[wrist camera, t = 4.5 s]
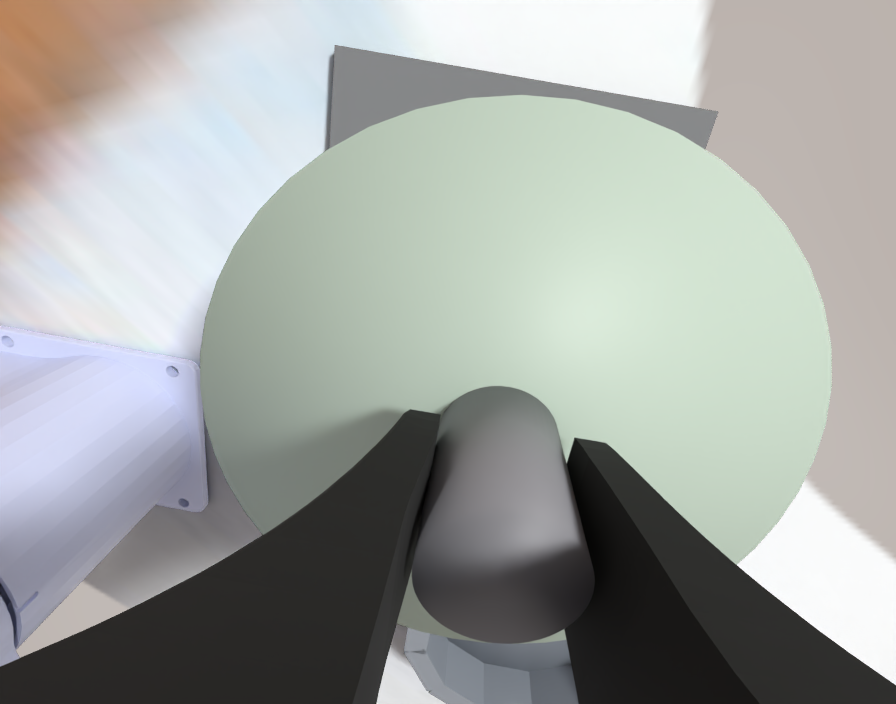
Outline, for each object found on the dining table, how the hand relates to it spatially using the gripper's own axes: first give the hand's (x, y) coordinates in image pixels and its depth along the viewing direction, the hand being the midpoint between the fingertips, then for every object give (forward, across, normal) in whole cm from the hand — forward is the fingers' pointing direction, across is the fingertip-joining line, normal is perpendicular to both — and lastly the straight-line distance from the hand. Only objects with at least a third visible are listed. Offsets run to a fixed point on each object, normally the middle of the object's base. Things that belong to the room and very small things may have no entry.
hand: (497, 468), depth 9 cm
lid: (+2, 0, 0) cm, 2 cm away
